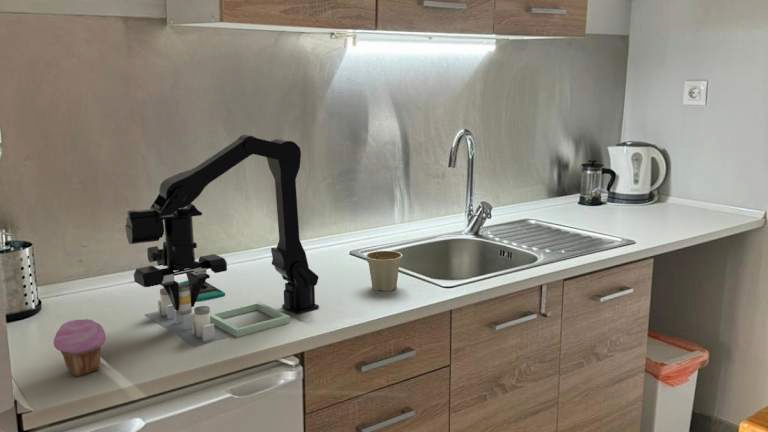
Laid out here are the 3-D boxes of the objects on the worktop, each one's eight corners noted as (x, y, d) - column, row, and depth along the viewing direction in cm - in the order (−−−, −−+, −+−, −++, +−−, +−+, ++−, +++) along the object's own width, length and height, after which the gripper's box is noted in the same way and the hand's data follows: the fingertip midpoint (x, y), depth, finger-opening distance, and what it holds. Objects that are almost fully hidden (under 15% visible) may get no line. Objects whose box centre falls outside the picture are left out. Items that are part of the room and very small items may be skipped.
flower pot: (358, 288, 186) (357, 255, 184) (383, 280, 193) (382, 248, 191) (385, 295, 180) (384, 262, 178) (409, 287, 186) (410, 254, 185)
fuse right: (207, 332, 153) (205, 304, 151) (214, 336, 150) (212, 308, 149) (193, 335, 151) (191, 308, 149) (200, 339, 148) (198, 312, 147)
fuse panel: (178, 311, 169) (177, 294, 168) (230, 342, 150) (229, 322, 149) (144, 319, 164) (143, 301, 163) (194, 352, 145) (193, 332, 144)
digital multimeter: (202, 287, 188) (201, 276, 188) (226, 302, 177) (226, 290, 176) (175, 293, 184) (174, 282, 184) (197, 308, 172) (197, 296, 172)
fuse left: (172, 311, 165) (170, 286, 164) (178, 315, 163) (176, 289, 162) (159, 314, 163) (157, 289, 162) (165, 318, 161) (163, 292, 160)
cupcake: (71, 385, 131) (65, 332, 128) (49, 372, 136) (43, 321, 134) (117, 369, 137) (112, 319, 135) (94, 357, 143) (89, 309, 141)
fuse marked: (188, 309, 158) (186, 282, 157) (194, 312, 156) (192, 286, 155) (174, 312, 156) (172, 285, 155) (180, 316, 154) (179, 288, 153)
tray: (259, 312, 168) (259, 301, 167) (290, 327, 158) (290, 316, 158) (208, 325, 160) (207, 314, 159) (237, 342, 150) (236, 330, 150)
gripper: (202, 225, 165) (206, 290, 168) (121, 238, 153) (127, 308, 156) (226, 233, 156) (230, 302, 160) (142, 248, 144) (148, 322, 148)
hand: (184, 308), depth 156 cm, fingers closed on fuse marked, 3 cm apart
